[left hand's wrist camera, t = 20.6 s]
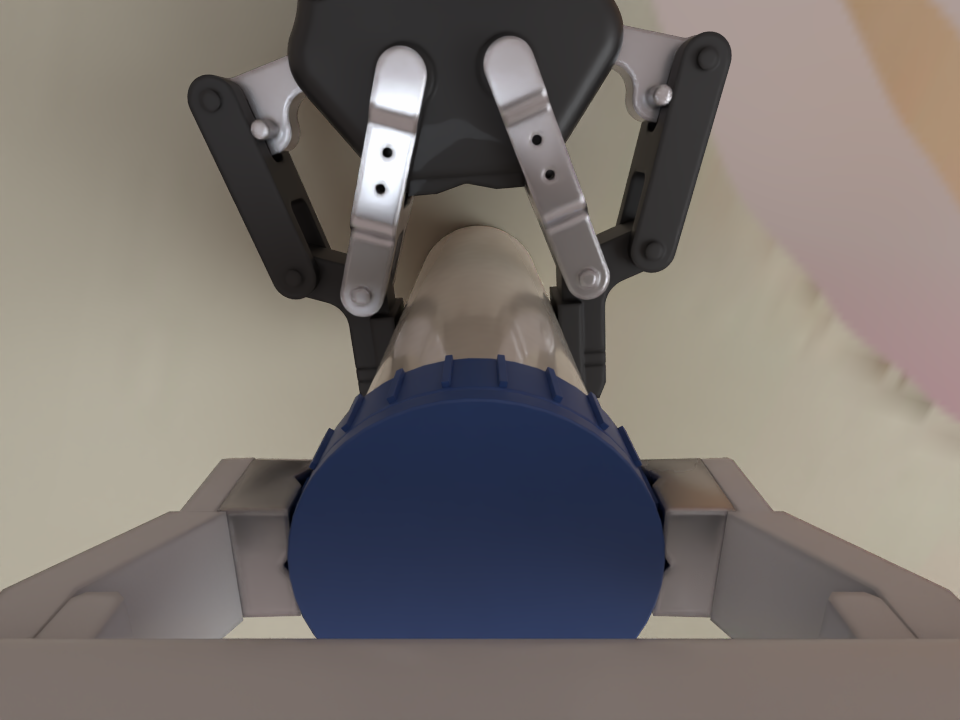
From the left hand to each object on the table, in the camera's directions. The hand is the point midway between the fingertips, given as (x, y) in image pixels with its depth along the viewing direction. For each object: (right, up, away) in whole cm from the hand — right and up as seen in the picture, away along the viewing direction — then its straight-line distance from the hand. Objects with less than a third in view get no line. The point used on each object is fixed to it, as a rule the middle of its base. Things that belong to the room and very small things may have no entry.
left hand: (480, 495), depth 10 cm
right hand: (0, +1, +9) cm, 9 cm away
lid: (0, -1, -1) cm, 2 cm away
